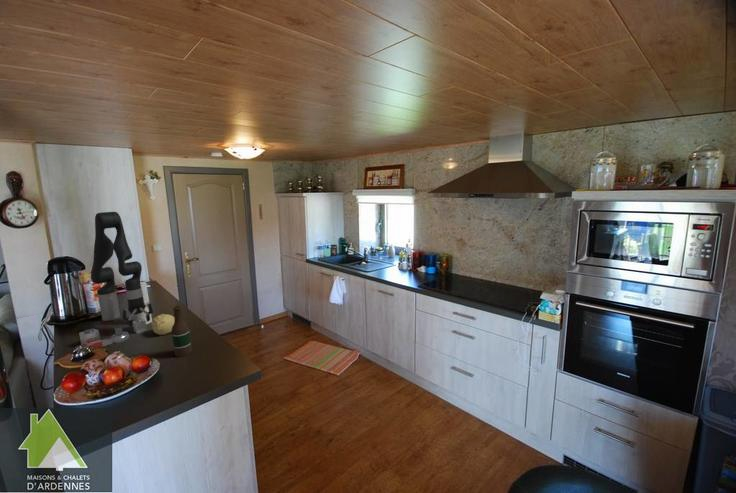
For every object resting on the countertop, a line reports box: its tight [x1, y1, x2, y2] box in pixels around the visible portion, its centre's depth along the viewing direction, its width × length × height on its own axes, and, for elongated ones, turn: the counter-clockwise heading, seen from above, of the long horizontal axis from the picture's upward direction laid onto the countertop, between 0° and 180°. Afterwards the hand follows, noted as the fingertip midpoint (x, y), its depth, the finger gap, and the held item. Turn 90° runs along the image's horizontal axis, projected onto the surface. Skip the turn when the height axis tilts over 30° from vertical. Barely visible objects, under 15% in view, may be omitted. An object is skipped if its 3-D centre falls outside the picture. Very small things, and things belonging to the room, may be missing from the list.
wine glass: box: [75, 325, 130, 350], centre depth 175 cm, size 8×22×7 cm, turn 140°
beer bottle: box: [171, 305, 193, 358], centre depth 161 cm, size 8×8×24 cm
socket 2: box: [132, 319, 148, 334], centre depth 191 cm, size 5×5×7 cm
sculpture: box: [151, 313, 175, 336], centre depth 188 cm, size 12×12×11 cm
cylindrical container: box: [136, 281, 153, 325], centre depth 202 cm, size 7×7×25 cm
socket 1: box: [78, 328, 101, 346], centre depth 177 cm, size 6×6×8 cm
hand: (139, 323), depth 191 cm, fingers open, 8 cm apart
